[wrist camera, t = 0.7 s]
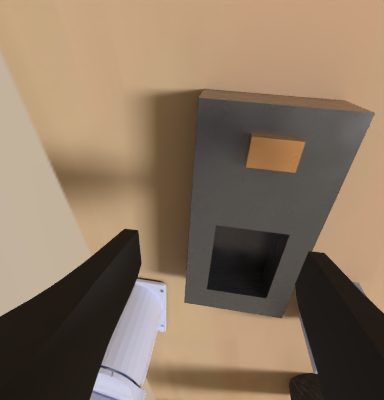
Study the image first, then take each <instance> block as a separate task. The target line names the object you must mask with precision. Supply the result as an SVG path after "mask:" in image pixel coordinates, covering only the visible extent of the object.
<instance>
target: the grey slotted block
mask: <svg viewBox="0 0 384 400" xmlns="http://www.w3.org/2000/svg"><path fill="white" fill-rule="evenodd" d="M374 114H375V113H374V112H371V111H369V110H366V109H364V108H362V107H359V106H357V105H354V104H352V103H350V102H347V101H342V100H330V99H318V98H306V97H294V96H282V95H270V94H258V93H246V92H234V91H222V90H210V89H204V90H203V92H202V93H201V95H200V96H199V98H198V112H197V126H196V141H195V155H194V170H193V184H192V199H191V214H190V228H189V243H188V257H187V272H186V286H185V301H184V303H190V304H197V305H203V306H209V307H216V308H222V309H228V310H235V311H241V312H247V313H253V314H260V315H266V316H272V317H279V318H282V316H283V314H284V312H285V309H286V307H287V305H288V303H289V301H290V298H291V296H292V294H293V292H294V290H295V283H296V280H297V278H298V276H299V273H300V271H301V268H302V266H303V264H304V261H305V259H306V256H307V254H308V252H309V251H311V252H312V250H313V248H314V246H315V243H316V241H317V239H318V237H319V235H320V232H321V230H322V228H323V226H324V224H325V221H326V219H327V217H328V215H329V213H330V210H331V208H332V206H333V204H334V202H335V199H336V197H337V195H338V193H339V191H340V188H341V186H342V184H343V182H344V180H345V177H346V175H347V173H348V171H349V169H350V166H351V164H352V162H353V160H354V158H355V155H356V153H357V151H358V149H359V147H360V144H361V142H362V140H363V138H364V136H365V133H366V131H367V129H368V127H369V125H370V122H371V120H372V118H373V116H374Z"/></svg>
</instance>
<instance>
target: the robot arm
mask: <svg viewBox="0 0 384 400" xmlns="http://www.w3.org/2000/svg"><path fill="white" fill-rule="evenodd" d="M140 267H141V254H140V244H139V234H138V230H130V229H124V230H123V231H121V232H120V233H119V234H118V235H117V236H115V237H114V238H113V239H112V240H111V241H110V242H108V243H107V244H106V245H105V246H104V247H102V248H101V249H100V250H99V251H98V252H96V253H95V254H94V255H93V256H91V257H90V258H89V259H88V260H87V261H85V262H84V263H83V264H82V265H80V266H79V267H77V268H76V269H75V270H73V271H72V272H71V273H69V274H68V275H67V276H65V277H64V278H63V279H61V280H60V281H58V282H57V283H55V284H54V285H52V286H51V287H49V288H48V289H46V290H45V291H43V292H42V293H40V294H38V295H37V296H35V297H34V298H32V299H30V300H29V301H27V302H25V303H23V304H22V305H20V306H18V307H17V308H15V309H13V310H11V311H9V312H8V313H6V314H4V315H2V316H1V317H0V400H144V399H145V395H146V391H145V390H143V389H141V388H142V385H143V383H144V381H145V378H146V375H147V371H148V367H149V363H150V359H151V356H152V352H153V348H154V344H155V340H156V336H157V332H158V331H160V332H165V331H166V284H164V283H162V282H155V281H148V280H142V279H137V277H138V273H139V270H140ZM295 288H296V295H297V301H298V307H299V311H300V315H301V318H302V321H303V325H304V328H305V332H306V335H307V338H308V342H309V345H310V349H311V352H312V355H313V359H314V362H315V365H316V369H317V373H318V377H319V380H320V385H321V390H322V395H323V400H384V313H383V312H382V311H380V310H379V309H378V308H377V307H376V306H375V305H374V304H373V303H372V302H371V301H370V300H369V299H368V298H367V297H366V296H365V295H364V294H363V293H362V292H361V291H360V290H359V289H358V288H357V287H356V286H355V284H354V283H353V282H352V281H351V280H350V279H349V278H348V277H347V276H346V275H345V274H344V273H343V272H342V271H341V270H340V269H339V268H338V267H337V266H336V265H335V264H334V262H333V261H332V260H331V259H330V258H329V257H328V256H327V255H326V254H325V253H320V252H311V251H309V252H308V254H307V256H306V259H305V261H304V264H303V266H302V268H301V271H300V273H299V276H298V278H297V280H296V283H295Z"/></svg>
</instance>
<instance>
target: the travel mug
mask: <svg viewBox="0 0 384 400" xmlns="http://www.w3.org/2000/svg"><path fill="white" fill-rule="evenodd" d="M289 388H290V396H291V400H323V395H322V390H321V385H320V380H319V377H318V374H304V375H300V376H297V377H295V378H293V379H292V380H291V381H290V383H289Z"/></svg>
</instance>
